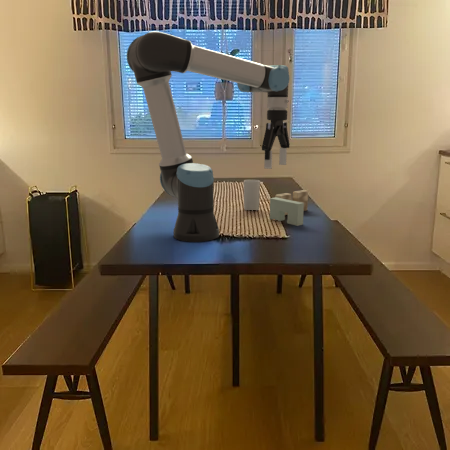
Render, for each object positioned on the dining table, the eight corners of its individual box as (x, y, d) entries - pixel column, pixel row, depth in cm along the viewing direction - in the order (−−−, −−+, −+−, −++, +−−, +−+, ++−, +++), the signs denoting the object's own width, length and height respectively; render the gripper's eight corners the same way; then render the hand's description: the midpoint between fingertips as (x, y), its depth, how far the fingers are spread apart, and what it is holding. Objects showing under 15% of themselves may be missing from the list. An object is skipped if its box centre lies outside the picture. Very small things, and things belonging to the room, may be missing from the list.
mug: (259, 211, 190) (259, 182, 187) (242, 210, 191) (242, 182, 188) (260, 206, 200) (260, 178, 197) (244, 205, 200) (245, 178, 197)
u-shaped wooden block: (280, 216, 181) (281, 195, 179) (275, 214, 184) (275, 194, 182) (307, 210, 191) (308, 191, 189) (301, 208, 194) (302, 190, 192)
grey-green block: (297, 225, 167) (298, 204, 165) (269, 218, 177) (270, 198, 175) (302, 224, 169) (303, 202, 167) (275, 217, 179) (275, 197, 177)
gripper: (272, 109, 160) (270, 170, 165) (299, 109, 181) (297, 163, 186) (253, 109, 163) (251, 169, 169) (281, 109, 184) (279, 162, 189)
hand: (275, 166), depth 177 cm, fingers open, 13 cm apart
